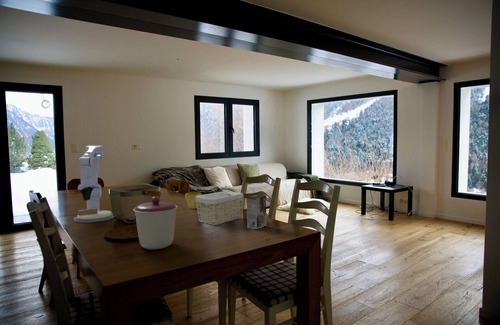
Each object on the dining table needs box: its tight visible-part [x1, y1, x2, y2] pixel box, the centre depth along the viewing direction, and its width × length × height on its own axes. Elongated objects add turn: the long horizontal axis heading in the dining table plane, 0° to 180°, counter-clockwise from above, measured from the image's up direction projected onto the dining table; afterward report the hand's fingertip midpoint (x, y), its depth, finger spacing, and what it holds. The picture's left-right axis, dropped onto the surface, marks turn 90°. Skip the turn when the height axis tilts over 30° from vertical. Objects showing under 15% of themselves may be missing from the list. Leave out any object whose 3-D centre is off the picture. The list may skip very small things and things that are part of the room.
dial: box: [76, 208, 112, 220], centre depth 192 cm, size 18×18×4 cm
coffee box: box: [246, 194, 267, 230], centre depth 169 cm, size 9×6×16 cm
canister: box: [133, 196, 179, 250], centre depth 140 cm, size 18×18×21 cm
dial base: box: [73, 213, 115, 224], centre depth 192 cm, size 22×22×2 cm
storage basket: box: [195, 190, 244, 226], centre depth 185 cm, size 24×16×15 cm
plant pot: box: [184, 192, 202, 210], centre depth 221 cm, size 10×10×10 cm
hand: (86, 200), depth 194 cm, fingers closed
